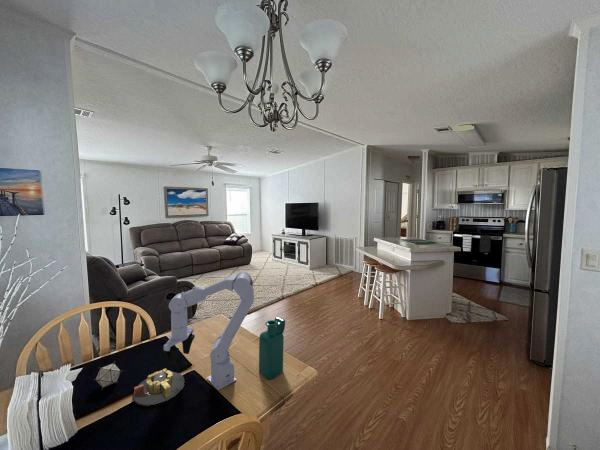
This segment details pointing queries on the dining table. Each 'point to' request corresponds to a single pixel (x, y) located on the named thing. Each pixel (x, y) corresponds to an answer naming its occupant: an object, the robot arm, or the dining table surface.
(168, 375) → the yellow toy key
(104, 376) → the game die
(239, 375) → the dining table surface
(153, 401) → the flange
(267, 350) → the green flip-top bottle
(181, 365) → the dining table surface
